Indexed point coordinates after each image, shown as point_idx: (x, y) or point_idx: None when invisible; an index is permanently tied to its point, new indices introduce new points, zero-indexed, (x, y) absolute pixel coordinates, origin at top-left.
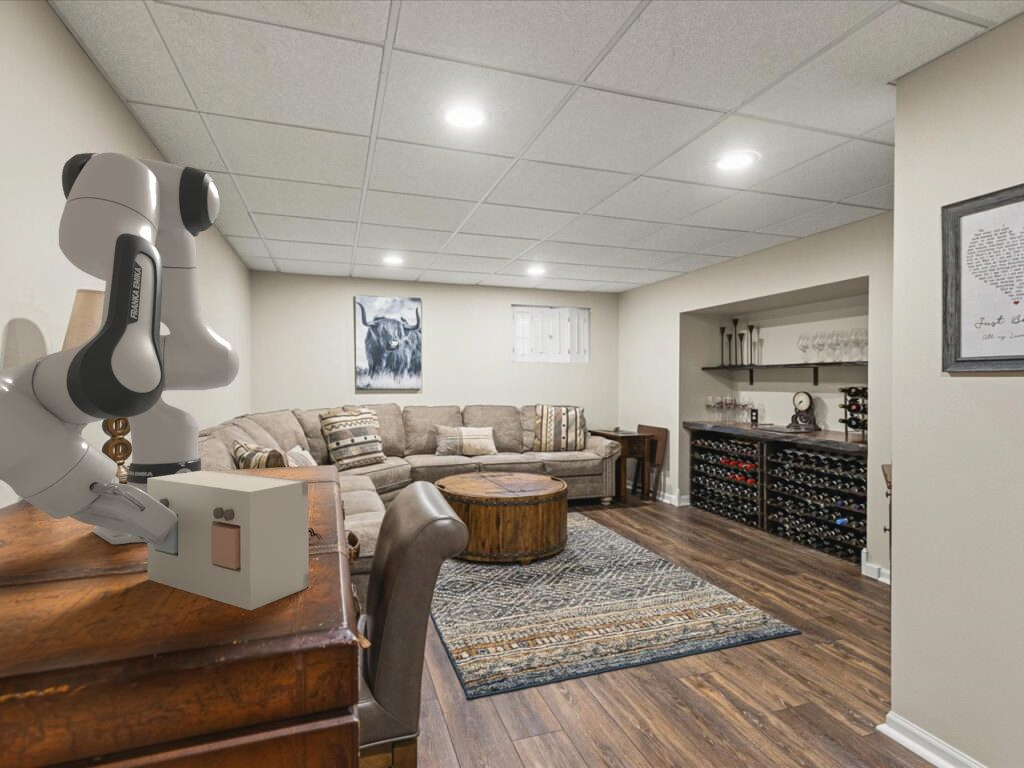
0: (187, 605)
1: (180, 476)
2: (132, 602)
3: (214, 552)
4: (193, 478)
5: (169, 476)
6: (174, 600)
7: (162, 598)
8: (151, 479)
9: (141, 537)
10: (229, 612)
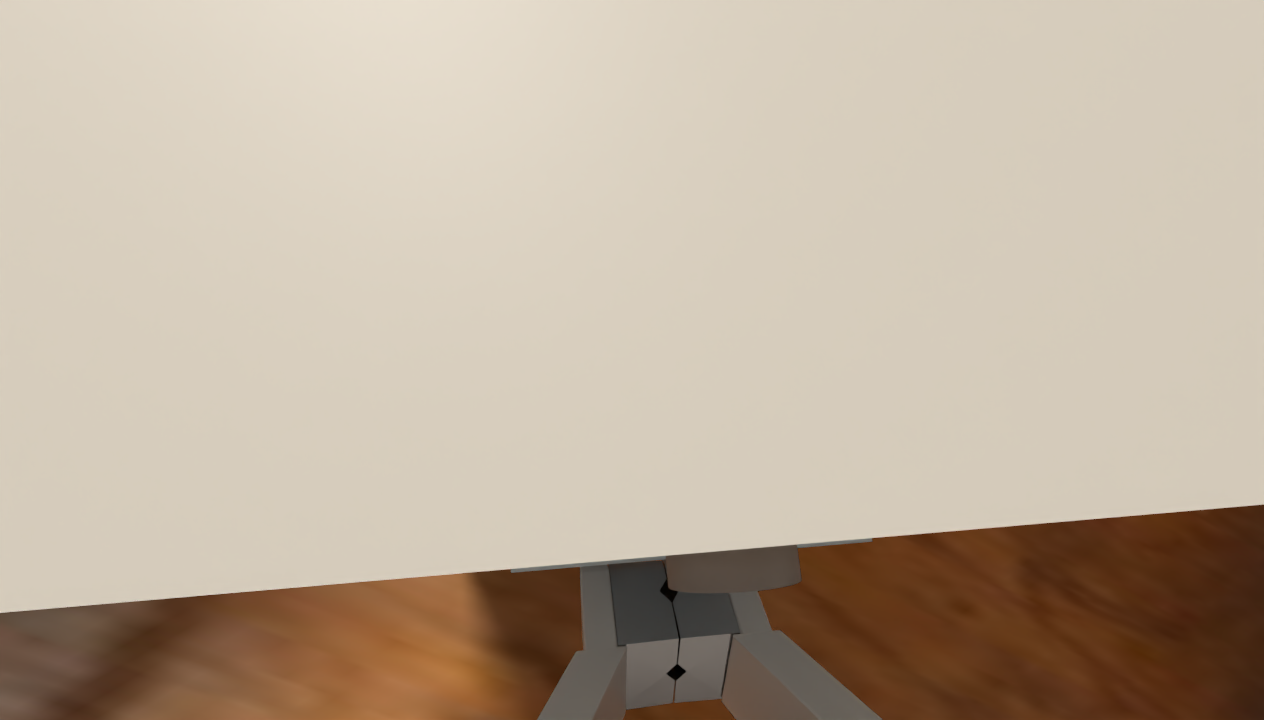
0: (953, 581)
1: (504, 58)
2: (727, 711)
3: None
4: (1026, 85)
5: (234, 164)
6: (853, 586)
7: (786, 605)
8: (131, 598)
9: (641, 705)
10: (1143, 523)
